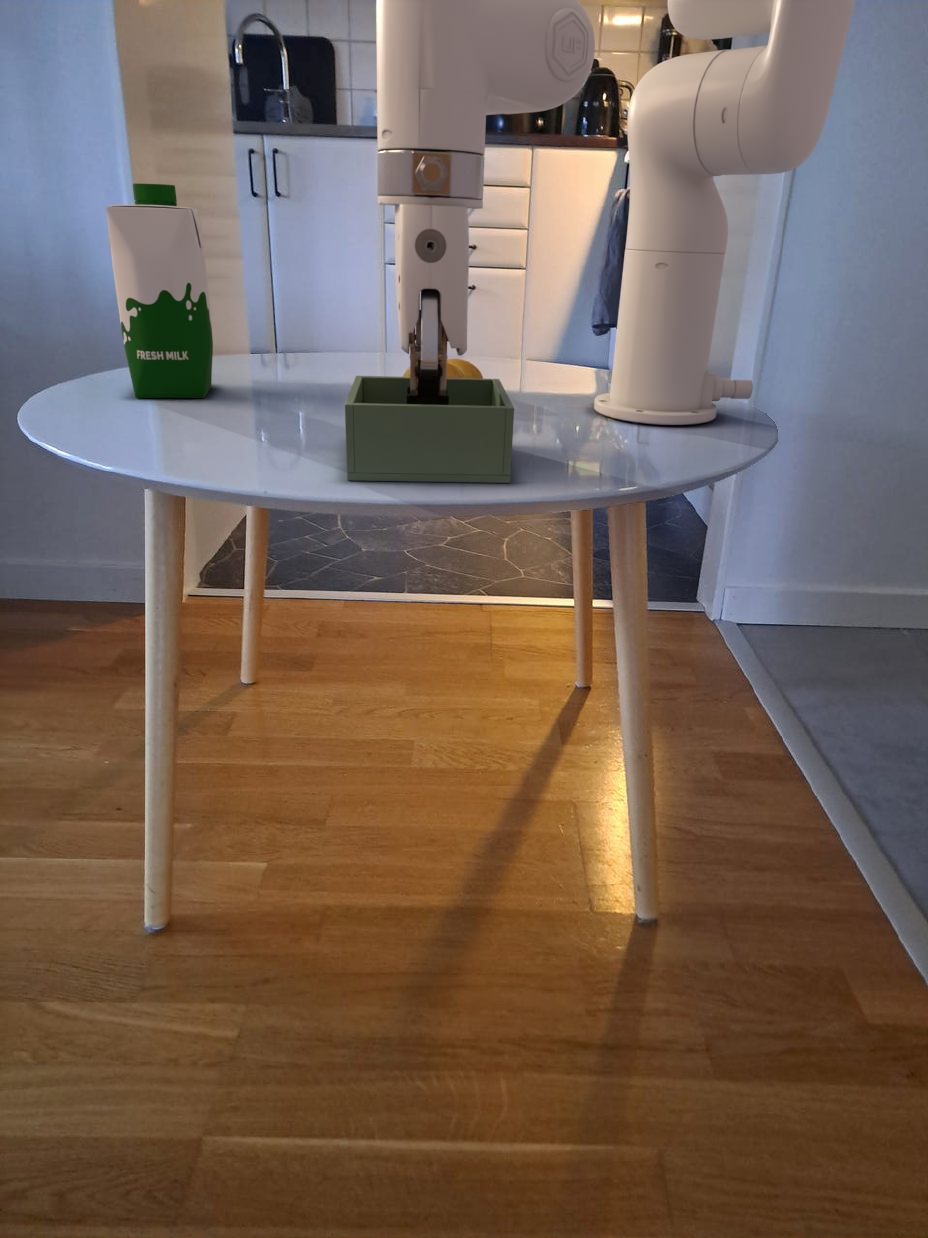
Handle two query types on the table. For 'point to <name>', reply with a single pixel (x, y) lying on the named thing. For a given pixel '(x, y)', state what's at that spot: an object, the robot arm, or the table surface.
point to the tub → (428, 432)
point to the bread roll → (458, 369)
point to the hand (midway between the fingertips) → (426, 439)
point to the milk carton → (162, 293)
